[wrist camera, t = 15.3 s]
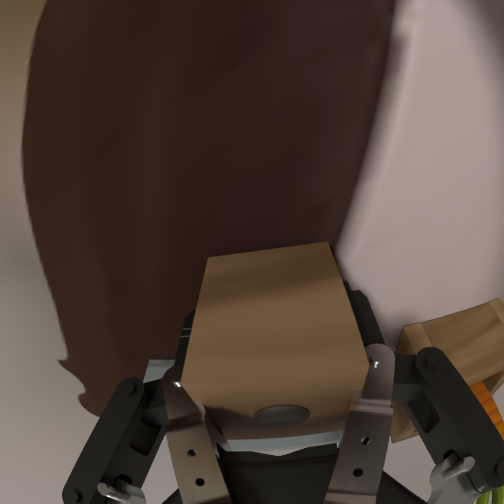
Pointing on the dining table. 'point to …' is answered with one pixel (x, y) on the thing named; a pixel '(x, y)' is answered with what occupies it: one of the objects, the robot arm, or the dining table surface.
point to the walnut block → (274, 344)
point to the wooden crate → (457, 351)
